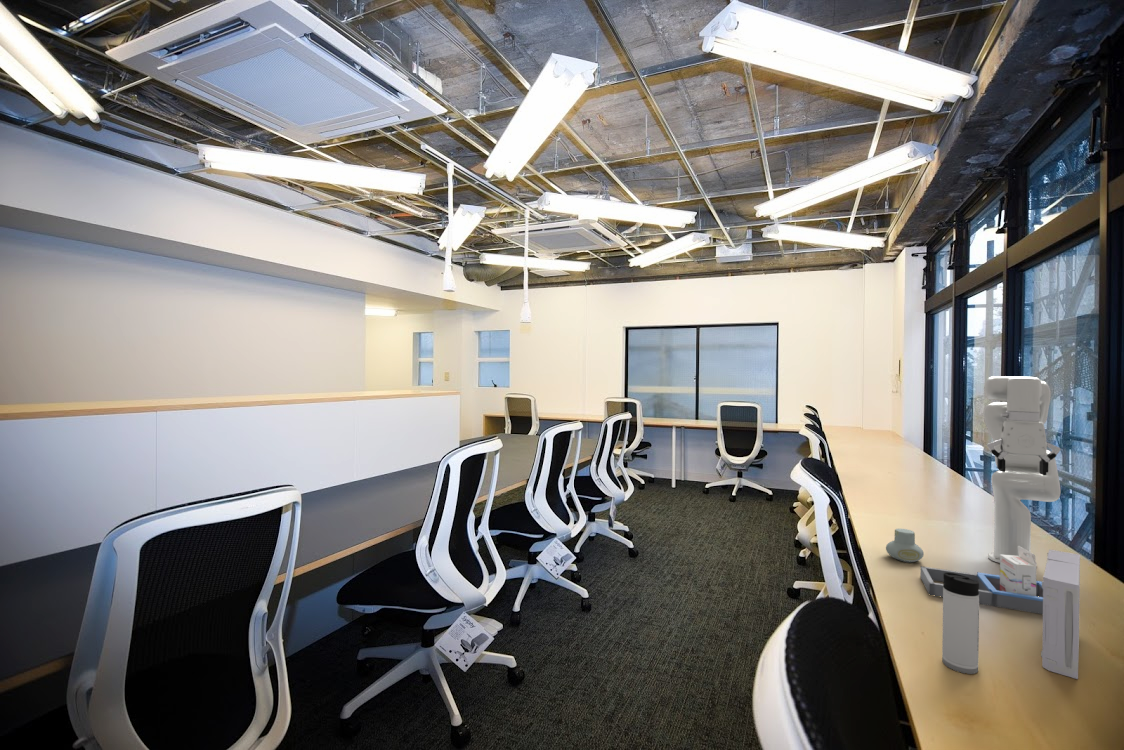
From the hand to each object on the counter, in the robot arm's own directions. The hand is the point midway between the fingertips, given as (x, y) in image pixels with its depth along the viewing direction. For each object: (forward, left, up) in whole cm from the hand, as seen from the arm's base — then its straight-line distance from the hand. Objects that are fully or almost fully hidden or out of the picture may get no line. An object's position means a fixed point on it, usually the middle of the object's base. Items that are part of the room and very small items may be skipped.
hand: (1022, 473), depth 158 cm
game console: (+46, -5, -35) cm, 58 cm away
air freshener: (-9, -29, -35) cm, 46 cm away
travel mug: (+65, -28, -34) cm, 79 cm away
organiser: (+16, -12, -34) cm, 40 cm away
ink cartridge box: (+15, -5, -35) cm, 38 cm away
